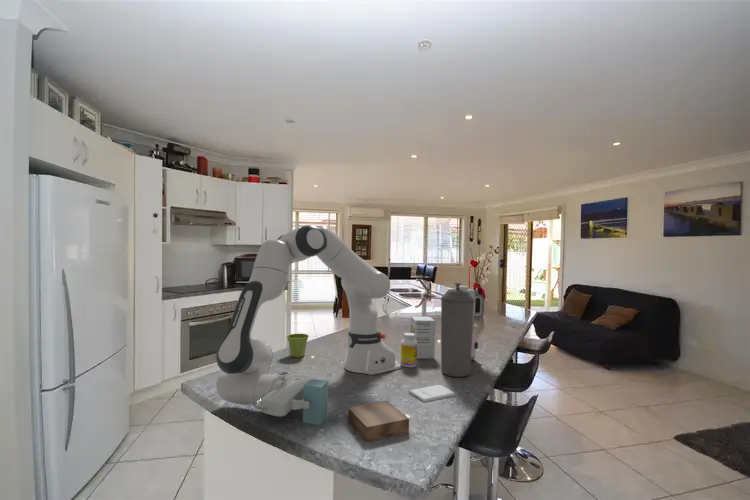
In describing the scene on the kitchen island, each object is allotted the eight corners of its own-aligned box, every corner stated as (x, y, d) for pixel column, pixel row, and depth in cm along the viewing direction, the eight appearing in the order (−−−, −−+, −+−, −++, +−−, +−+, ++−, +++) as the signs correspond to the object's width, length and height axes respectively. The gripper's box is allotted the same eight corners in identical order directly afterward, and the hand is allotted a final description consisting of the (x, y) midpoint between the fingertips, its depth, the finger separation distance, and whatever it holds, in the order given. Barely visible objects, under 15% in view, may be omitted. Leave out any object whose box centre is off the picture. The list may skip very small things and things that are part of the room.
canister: (461, 366, 149) (463, 281, 149) (479, 377, 137) (481, 284, 137) (433, 369, 145) (435, 281, 145) (449, 380, 133) (451, 284, 133)
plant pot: (288, 359, 152) (288, 339, 152) (284, 353, 161) (285, 334, 161) (310, 357, 156) (311, 337, 156) (305, 352, 164) (306, 332, 164)
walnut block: (386, 414, 104) (387, 400, 104) (408, 434, 93) (409, 418, 93) (347, 422, 99) (348, 407, 99) (366, 443, 88) (366, 427, 88)
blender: (443, 361, 156) (445, 286, 156) (448, 353, 168) (449, 284, 168) (481, 366, 151) (483, 288, 151) (483, 358, 162) (485, 286, 162)
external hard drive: (454, 397, 118) (423, 404, 113) (439, 388, 126) (408, 394, 120) (454, 392, 118) (423, 398, 113) (439, 384, 126) (409, 389, 120)
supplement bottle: (416, 368, 145) (417, 336, 145) (399, 367, 146) (400, 335, 146) (417, 363, 152) (418, 332, 152) (401, 362, 153) (402, 331, 153)
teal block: (310, 414, 102) (311, 378, 102) (327, 416, 101) (328, 380, 101) (302, 422, 97) (303, 385, 97) (320, 425, 96) (321, 387, 96)
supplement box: (409, 352, 168) (410, 316, 168) (429, 352, 169) (430, 316, 169) (414, 358, 159) (415, 320, 159) (434, 358, 160) (435, 320, 160)
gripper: (250, 394, 92) (300, 401, 89) (288, 369, 112) (330, 374, 109) (249, 419, 92) (299, 426, 89) (288, 389, 112) (330, 395, 109)
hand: (316, 397), depth 99 cm, fingers open, 8 cm apart
